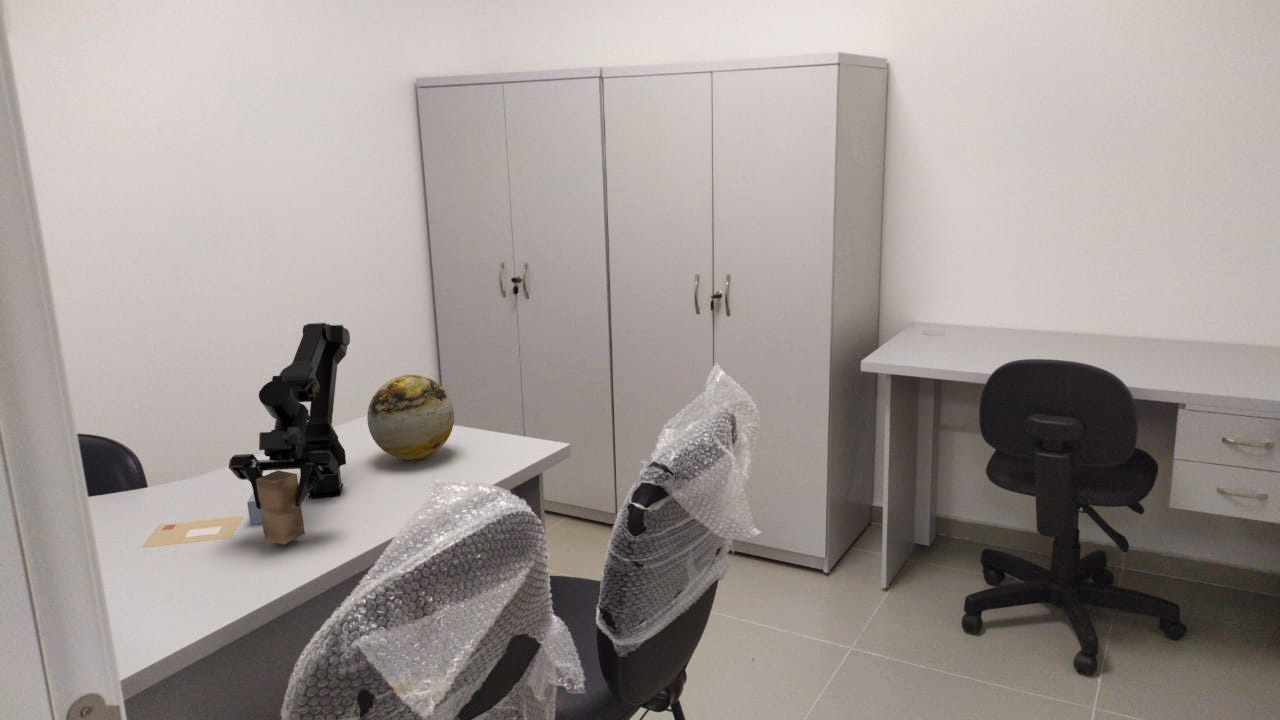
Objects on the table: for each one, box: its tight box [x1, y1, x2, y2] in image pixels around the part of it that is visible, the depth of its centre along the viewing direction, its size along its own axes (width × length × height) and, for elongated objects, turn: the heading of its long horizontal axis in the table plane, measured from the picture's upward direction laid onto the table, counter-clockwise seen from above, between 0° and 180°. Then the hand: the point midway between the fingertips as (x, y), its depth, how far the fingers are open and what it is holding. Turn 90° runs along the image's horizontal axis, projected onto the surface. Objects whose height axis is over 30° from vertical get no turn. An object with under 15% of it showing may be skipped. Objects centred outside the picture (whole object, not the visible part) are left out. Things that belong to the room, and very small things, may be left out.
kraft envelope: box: [141, 515, 244, 548], centre depth 180 cm, size 16×11×1 cm
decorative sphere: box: [367, 374, 455, 461], centre depth 216 cm, size 20×20×20 cm
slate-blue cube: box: [246, 493, 263, 526], centre depth 184 cm, size 5×5×5 cm
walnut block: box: [256, 470, 306, 545], centre depth 171 cm, size 5×5×12 cm
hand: (277, 507), depth 169 cm, fingers closed on walnut block, 7 cm apart
